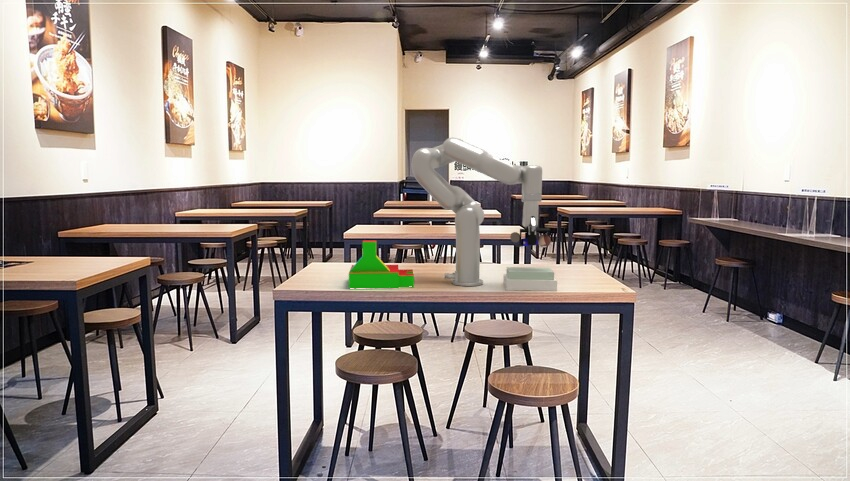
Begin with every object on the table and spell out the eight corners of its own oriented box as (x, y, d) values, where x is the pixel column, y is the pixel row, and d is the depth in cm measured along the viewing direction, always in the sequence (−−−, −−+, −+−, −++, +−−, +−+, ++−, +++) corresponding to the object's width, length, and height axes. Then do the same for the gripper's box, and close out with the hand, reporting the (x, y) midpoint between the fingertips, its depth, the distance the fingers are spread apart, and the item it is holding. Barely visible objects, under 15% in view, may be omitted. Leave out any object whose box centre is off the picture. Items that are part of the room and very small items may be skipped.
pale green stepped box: (506, 290, 221) (506, 272, 220) (503, 283, 234) (503, 266, 233) (556, 290, 220) (557, 272, 220) (551, 284, 233) (551, 267, 232)
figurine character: (511, 251, 223) (551, 247, 221) (509, 231, 222) (550, 227, 220) (511, 248, 230) (550, 245, 227) (509, 229, 229) (548, 226, 227)
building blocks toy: (414, 289, 224) (414, 242, 222) (349, 290, 223) (348, 242, 221) (412, 280, 243) (412, 236, 241) (352, 280, 242) (351, 237, 239)
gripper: (519, 196, 232) (518, 241, 234) (524, 198, 215) (523, 246, 217) (538, 196, 231) (536, 241, 234) (544, 199, 214) (543, 247, 216)
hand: (530, 243), depth 225 cm, fingers closed on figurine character, 6 cm apart
